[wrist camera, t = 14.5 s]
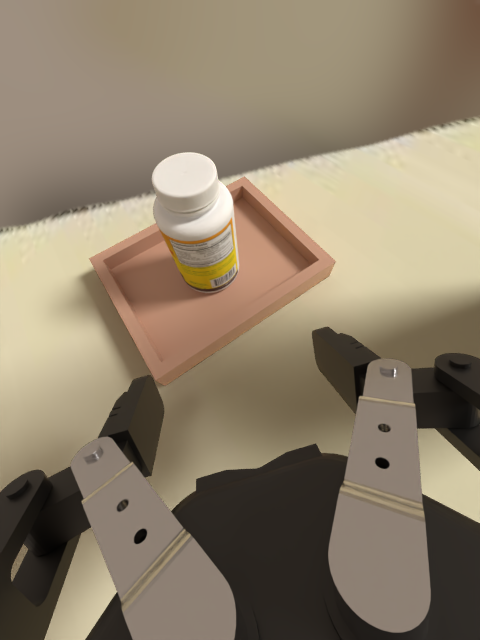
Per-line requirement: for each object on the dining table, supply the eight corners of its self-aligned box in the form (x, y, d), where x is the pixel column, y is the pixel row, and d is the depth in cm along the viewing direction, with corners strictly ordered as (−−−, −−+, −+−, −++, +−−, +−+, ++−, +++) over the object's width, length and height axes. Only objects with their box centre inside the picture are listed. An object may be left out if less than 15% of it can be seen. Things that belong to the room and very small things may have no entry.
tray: (245, 194, 30) (244, 176, 28) (328, 276, 25) (335, 261, 23) (102, 272, 26) (88, 258, 24) (165, 385, 21) (155, 380, 19)
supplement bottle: (192, 243, 26) (158, 138, 17) (245, 252, 25) (240, 147, 16) (174, 290, 24) (122, 199, 15) (231, 301, 23) (215, 213, 14)
